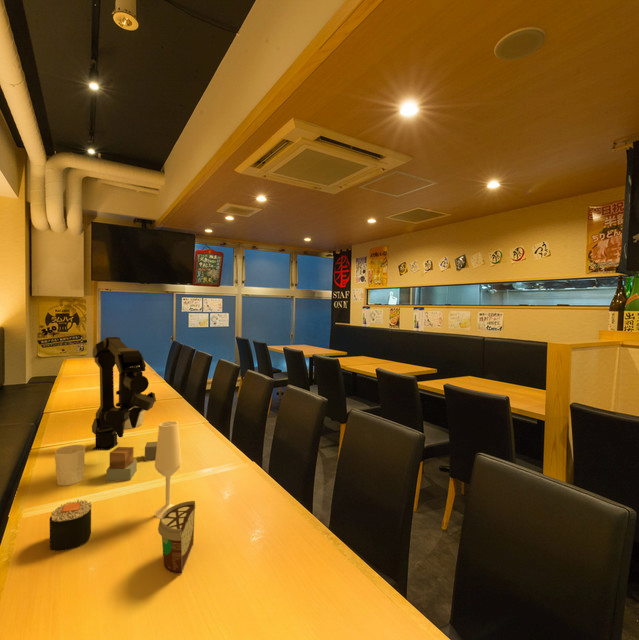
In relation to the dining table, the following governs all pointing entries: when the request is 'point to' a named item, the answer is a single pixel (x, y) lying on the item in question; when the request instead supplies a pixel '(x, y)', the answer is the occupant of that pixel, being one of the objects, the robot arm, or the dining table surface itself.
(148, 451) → the brown block
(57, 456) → the white cup
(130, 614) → the dining table surface
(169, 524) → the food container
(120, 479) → the base block
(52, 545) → the sushi
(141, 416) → the ramekin
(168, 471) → the champagne flute
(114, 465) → the walnut block
